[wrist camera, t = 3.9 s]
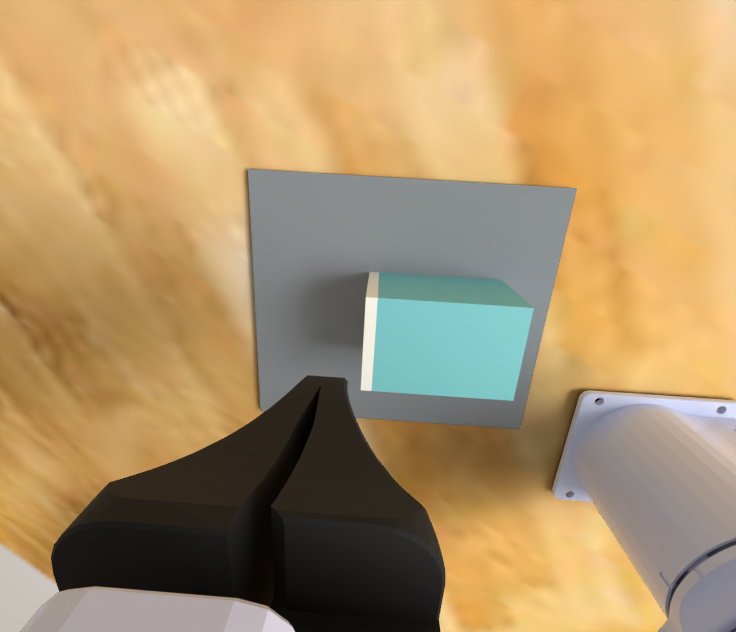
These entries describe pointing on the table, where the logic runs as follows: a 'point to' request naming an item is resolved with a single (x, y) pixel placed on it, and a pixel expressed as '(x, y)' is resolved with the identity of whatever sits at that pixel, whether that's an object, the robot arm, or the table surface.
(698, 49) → the table surface
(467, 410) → the mat
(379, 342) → the teal block
